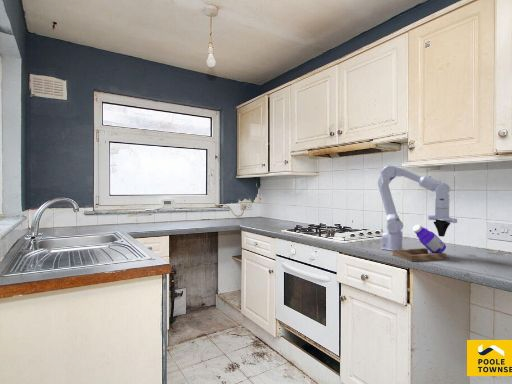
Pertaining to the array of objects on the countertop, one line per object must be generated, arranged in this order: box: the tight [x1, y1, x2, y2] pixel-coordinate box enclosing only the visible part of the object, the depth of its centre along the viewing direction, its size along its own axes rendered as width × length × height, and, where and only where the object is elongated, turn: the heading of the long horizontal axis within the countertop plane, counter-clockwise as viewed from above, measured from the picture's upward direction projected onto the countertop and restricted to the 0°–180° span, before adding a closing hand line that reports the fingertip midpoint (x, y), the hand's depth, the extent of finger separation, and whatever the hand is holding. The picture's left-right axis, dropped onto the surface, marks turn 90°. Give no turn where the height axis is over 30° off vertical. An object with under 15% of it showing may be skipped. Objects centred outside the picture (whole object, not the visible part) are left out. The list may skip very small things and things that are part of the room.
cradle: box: [392, 247, 447, 262], centre depth 142 cm, size 19×12×2 cm, turn 105°
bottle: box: [412, 223, 447, 254], centre depth 144 cm, size 7×6×17 cm
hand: (441, 236), depth 145 cm, fingers closed
